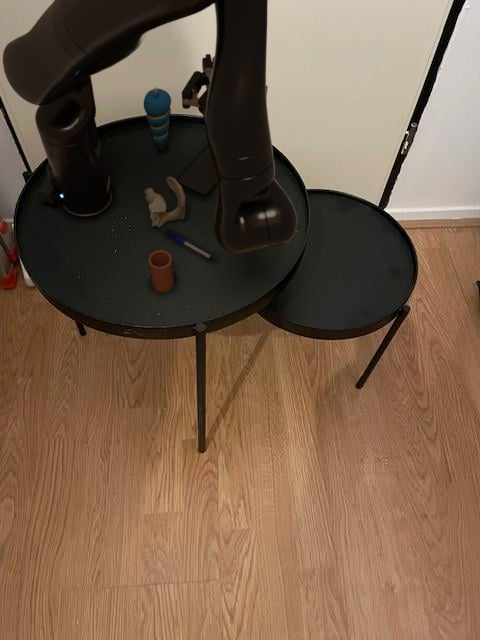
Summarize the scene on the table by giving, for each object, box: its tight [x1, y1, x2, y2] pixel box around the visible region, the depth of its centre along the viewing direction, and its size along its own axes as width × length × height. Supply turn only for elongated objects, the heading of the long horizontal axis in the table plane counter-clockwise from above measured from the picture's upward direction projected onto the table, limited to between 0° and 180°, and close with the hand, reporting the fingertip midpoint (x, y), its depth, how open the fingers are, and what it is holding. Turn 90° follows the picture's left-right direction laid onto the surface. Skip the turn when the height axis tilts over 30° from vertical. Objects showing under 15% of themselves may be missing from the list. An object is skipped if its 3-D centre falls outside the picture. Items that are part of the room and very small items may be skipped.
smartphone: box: [176, 144, 217, 198], centre depth 111 cm, size 7×1×15 cm
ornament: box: [143, 87, 172, 151], centre depth 107 cm, size 5×5×15 cm
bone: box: [143, 176, 187, 228], centre depth 101 cm, size 9×6×10 cm
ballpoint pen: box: [166, 230, 215, 261], centre depth 101 cm, size 10×1×1 cm, turn 58°
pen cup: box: [148, 249, 175, 293], centre depth 94 cm, size 4×4×7 cm
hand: (215, 58), depth 87 cm, fingers closed
